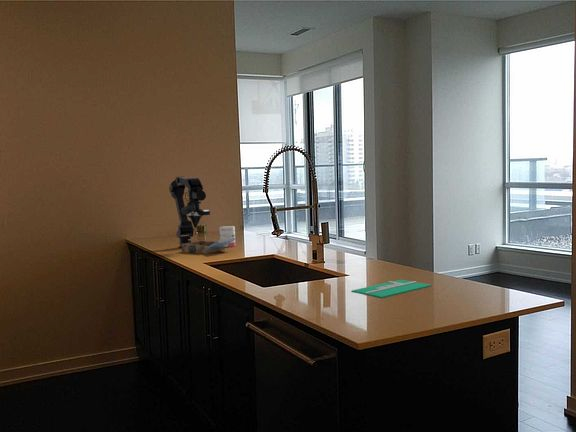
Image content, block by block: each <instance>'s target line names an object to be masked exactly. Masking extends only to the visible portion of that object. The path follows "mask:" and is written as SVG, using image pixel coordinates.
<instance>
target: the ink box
mask: <svg viewBox="0 0 576 432" xmlns="http://www.w3.org/2000/svg"><path fill="white" fill-rule="evenodd" d="M235 227H236V226H232V225H231V226H229V225H228V226H224V225H223V226H219V229H218V231H219V232H218V233H219V240H224V239H229V238H235V240H234V241H232V242H230V243H229V244H227V245H225V246H224V248H230V247H231V248H232V247H235V246H236V228H235Z"/></svg>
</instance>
